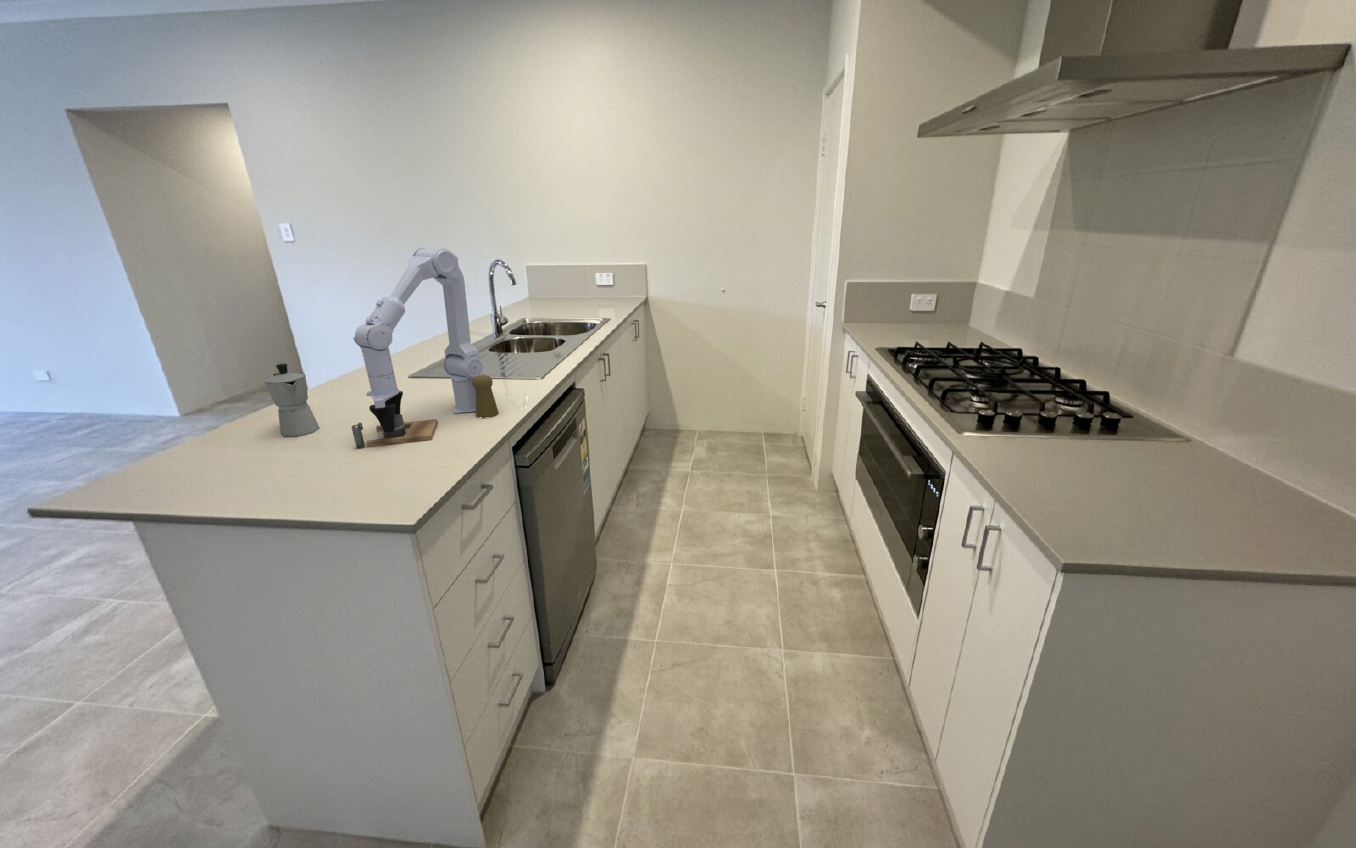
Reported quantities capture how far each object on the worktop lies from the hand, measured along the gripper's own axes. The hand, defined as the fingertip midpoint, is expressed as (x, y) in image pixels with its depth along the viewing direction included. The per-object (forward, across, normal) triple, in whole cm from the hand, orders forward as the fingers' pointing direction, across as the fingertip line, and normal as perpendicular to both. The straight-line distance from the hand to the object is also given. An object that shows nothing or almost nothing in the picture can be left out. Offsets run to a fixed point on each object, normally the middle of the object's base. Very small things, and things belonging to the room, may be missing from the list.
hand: (392, 426), depth 138 cm
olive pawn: (+3, -9, +22) cm, 24 cm away
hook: (+3, +4, -7) cm, 8 cm away
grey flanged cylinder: (+3, 0, 0) cm, 3 cm away
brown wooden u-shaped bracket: (+3, 0, +3) cm, 4 cm away
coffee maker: (+3, -12, -25) cm, 28 cm away
